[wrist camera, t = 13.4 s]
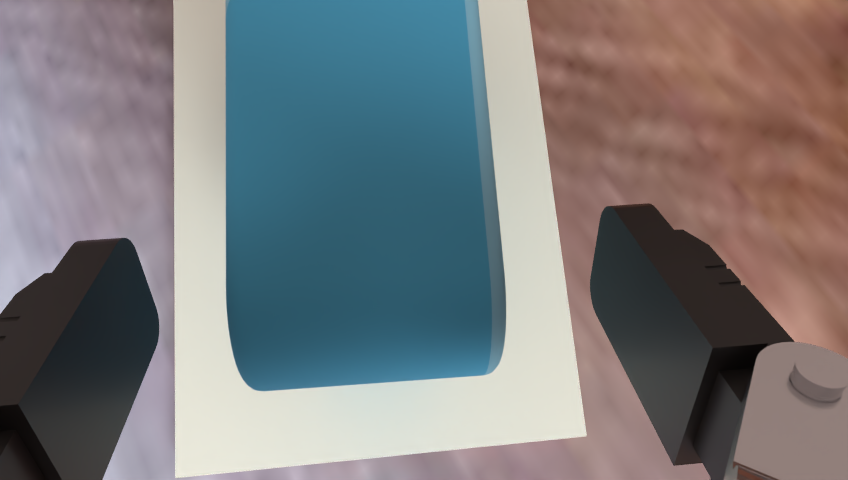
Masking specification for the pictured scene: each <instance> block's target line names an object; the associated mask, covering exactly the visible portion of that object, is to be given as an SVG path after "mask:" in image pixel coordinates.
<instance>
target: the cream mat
mask: <svg viewBox="0 0 848 480" xmlns="http://www.w3.org/2000/svg"><path fill="white" fill-rule="evenodd" d="M478 6H479V16H480V27H481V37H482V47H483V57H484V68H485V78H486V88H487V98H488V109H489V119H490V129H491V139H492V150H493V160H494V170H495V180H496V191H497V201H498V211H499V221H500V232H501V242H502V252H503V262H504V273H505V287H506V333H505V343H504V349H503V354H502V357H501V360H500V363H499V365H498V366H497V368H496V369H495V370H494V371H493V372H492V373H490V374H487V375H483V376H469V377H455V378H441V379H428V380H414V381H400V382H386V383H372V384H358V385H345V386H331V387H317V388H303V389H289V390H276V391H257V390H254V389H252V388H251V387H249V386H248V385H247V384H246V383H245V382H244V380H243V379H242V377H241V375H240V373H239V371H238V369H237V366H236V363H235V359H234V356H233V352H232V347H231V342H230V336H229V328H228V320H227V306H226V7H225V0H173V7H174V271H175V478H181V477H191V476H201V475H211V474H221V473H231V472H240V471H250V470H260V469H270V468H280V467H289V466H299V465H309V464H319V463H329V462H339V461H348V460H358V459H368V458H378V457H388V456H397V455H407V454H417V453H427V452H437V451H447V450H456V449H466V448H476V447H486V446H496V445H506V444H515V443H525V442H535V441H545V440H555V439H564V438H574V437H584V436H587V435H586V428H585V420H584V413H583V406H582V398H581V391H580V384H579V377H578V369H577V362H576V355H575V348H574V340H573V333H572V326H571V318H570V311H569V304H568V297H567V289H566V282H565V275H564V268H563V260H562V253H561V246H560V238H559V231H558V224H557V217H556V209H555V202H554V195H553V188H552V180H551V173H550V166H549V158H548V151H547V144H546V137H545V129H544V122H543V115H542V107H541V100H540V93H539V86H538V78H537V71H536V64H535V57H534V49H533V42H532V35H531V27H530V20H529V13H528V6H527V0H478Z"/></svg>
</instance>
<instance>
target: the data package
mask: <svg viewBox="0 0 848 480" xmlns="http://www.w3.org/2000/svg"><path fill="white" fill-rule="evenodd" d="M225 7H226V306H227V320H228V328H229V336H230V342H231V347H232V352H233V356H234V359H235V363H236V366H237V369H238V371H239V373H240V375H241V377H242V379H243V380H244V382H245V383H246V384H247V385H248V386H249V387H251V388H252V389H254V390H257V391H276V390H289V389H303V388H317V387H331V386H345V385H358V384H372V383H386V382H400V381H414V380H428V379H441V378H455V377H469V376H483V375H487V374H490V373H492V372H493V371H494V370H495V369H496V368H497V366H498V365H499V363H500V360H501V357H502V354H503V349H504V343H505V333H506V287H505V273H504V262H503V252H502V242H501V232H500V221H499V211H498V201H497V191H496V180H495V170H494V160H493V150H492V139H491V129H490V119H489V109H488V98H487V88H486V78H485V68H484V57H483V47H482V37H481V27H480V16H479V6H478V0H225Z"/></svg>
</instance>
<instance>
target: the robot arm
mask: <svg viewBox="0 0 848 480" xmlns="http://www.w3.org/2000/svg"><path fill="white" fill-rule="evenodd" d="M590 292H591V299H592V304H593V308H594V310H595V313H596V315H597V317H598V319H599V321H600V323H601V325H602V327H603V329H604V331H605V333H606V335H607V336H608V338H609V340H610V342H611V344H612V346H613V348H614V350H615V352H616V354H617V356H618V358H619V360H620V362H621V364H622V366H623V368H624V370H625V372H626V374H627V375H628V377H629V379H630V381H631V383H632V385H633V387H634V389H635V391H636V393H637V395H638V397H639V399H640V401H641V403H642V405H643V407H644V409H645V411H646V413H647V415H648V416H649V418H650V420H651V422H652V424H653V426H654V428H655V430H656V432H657V434H658V436H659V438H660V440H661V442H662V444H663V446H664V448H665V450H666V452H667V454H668V455H669V457H670V459H671V461H672V463H673V465H674V466H675V465H685V464H696V463H703V465H704V466H705V468H706V470H707V472H708V473H709V475H710V479H709V480H848V359H847V358H845V357H843V356H842V355H840V354H837V353H835V352H833V351H831V350H828V349H825V348H822V347H819V346H815V345H811V344H806V343H800V342H794V340H793V339H792V338H791V337H790V336H789V335H788V334H787V333H786V331H785V330H784V329H783V328H782V327H781V326H780V325H779V324H778V322H777V321H776V320H775V319H774V318H773V317H772V316H771V315H770V313H769V312H768V311H767V310H766V309H765V308H764V307H763V305H762V304H761V303H760V302H759V301H758V300H757V299H756V298H755V296H754V295H753V294H752V293H751V292H750V291H749V290H748V289H747V287H746V286H745V285H741V281H740V280H739V278H738V277H737V276H736V275H735V274H734V273H733V272H732V271H731V269H727V268H726V264H725V263H724V262H723V260H722V259H721V258H720V257H719V256H718V255H717V254H716V253H715V251H714V250H713V249H712V248H711V247H710V246H709V245H708V244H706V243H704V242H703V241H701V240H699V239H698V238H696V237H694V236H693V235H691V234H689V233H688V232H686V231H684V230H674V229H673V228H672V227H671V226H670V225H669V223H668V222H667V221H666V220H665V219H664V217H663V216H662V215H661V214H660V212H659V211H658V210H657V209H656V208H655V207H654V206H653V205H652V204H634V205H620V206H608V207H606V208H605V209H604V210H603V212H602V214H601V218H600V223H599V229H598V236H597V242H596V248H595V254H594V260H593V266H592V272H591V279H590ZM158 337H159V319H158V313H157V309H156V306H155V303H154V300H153V297H152V295H151V292H150V289H149V286H148V283H147V280H146V277H145V275H144V272H143V269H142V266H141V263H140V260H139V257H138V255H137V252H136V249H135V247H134V245H133V244H132V242H131V241H130V240H129V239H127V238H115V239H100V240H86V241H77V242H75V243H74V244H73V245H72V246H71V247H70V249H69V250H68V252H67V253H66V254H65V256H64V257H63V259H62V260H61V261H60V263H59V264H58V265H57V267H56V268H55V270H54V271H53V272H52V273H44V274H43V275H42V276H40V277H39V278H38V279H36V280H35V281H33V282H32V283H31V284H29V285H28V286H27V287H25V288H24V289H22V290H21V291H20V292H18V293H17V294H16V295H15V296H14V297H13V299H12V300H11V301H10V302H9V304H8V305H7V306H6V308H5V309H4V310H3V311H2V313H1V314H0V480H102V479H103V477H104V474H105V472H106V469H107V467H108V464H109V462H110V459H111V457H112V454H113V452H114V449H115V447H116V445H117V442H118V440H119V437H120V435H121V432H122V430H123V427H124V425H125V422H126V420H127V417H128V415H129V413H130V410H131V408H132V405H133V403H134V400H135V398H136V395H137V393H138V390H139V388H140V386H141V383H142V381H143V378H144V376H145V373H146V371H147V368H148V366H149V363H150V361H151V358H152V356H153V354H154V351H155V349H156V346H157V342H158Z"/></svg>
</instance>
